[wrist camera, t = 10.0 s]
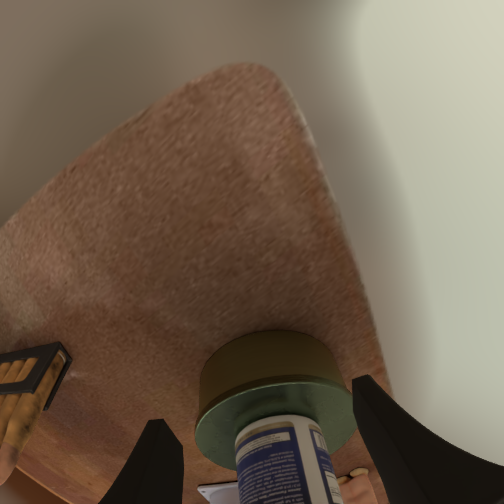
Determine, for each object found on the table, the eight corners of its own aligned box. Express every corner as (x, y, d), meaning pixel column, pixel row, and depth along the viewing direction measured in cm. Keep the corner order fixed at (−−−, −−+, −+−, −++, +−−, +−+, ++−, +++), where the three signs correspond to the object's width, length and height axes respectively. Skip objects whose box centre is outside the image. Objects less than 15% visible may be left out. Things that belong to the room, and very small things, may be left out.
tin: (341, 406, 24) (358, 452, 20) (220, 433, 24) (222, 482, 20) (333, 309, 20) (360, 360, 16) (176, 346, 20) (168, 403, 16)
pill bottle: (223, 453, 18) (231, 588, 9) (252, 405, 16) (274, 575, 7) (297, 460, 19) (323, 580, 10) (336, 415, 17) (383, 556, 8)
